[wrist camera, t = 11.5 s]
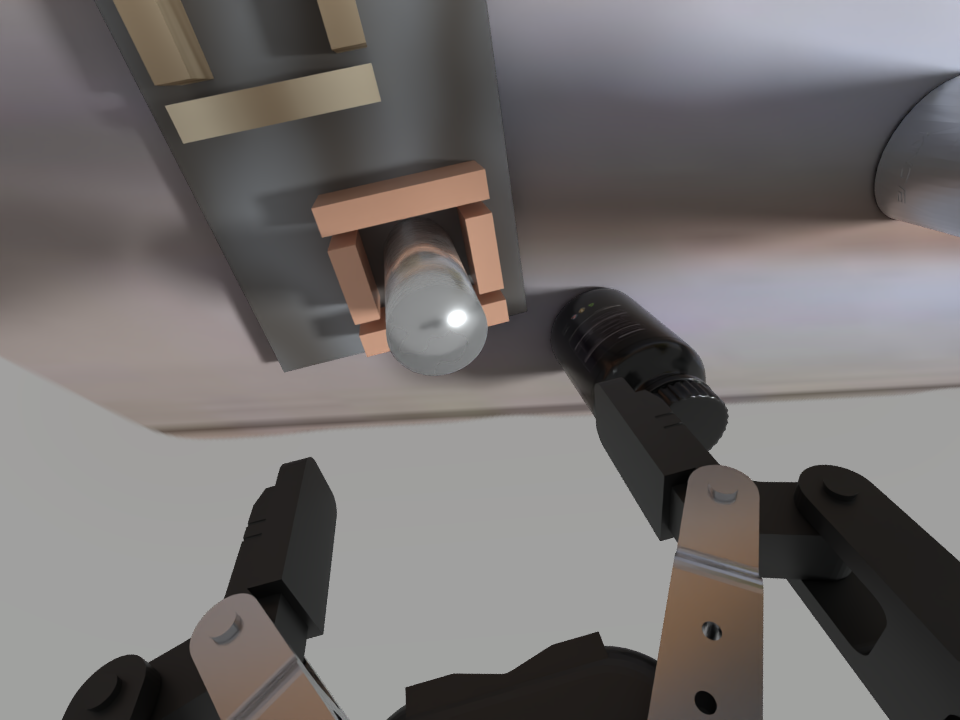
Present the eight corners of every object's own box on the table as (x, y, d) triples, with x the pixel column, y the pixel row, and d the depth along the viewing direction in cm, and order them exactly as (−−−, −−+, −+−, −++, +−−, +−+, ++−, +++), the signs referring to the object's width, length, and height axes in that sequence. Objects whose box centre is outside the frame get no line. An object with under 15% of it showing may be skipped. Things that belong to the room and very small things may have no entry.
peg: (445, 210, 25) (478, 274, 17) (459, 276, 27) (494, 362, 19) (374, 226, 25) (372, 300, 16) (394, 291, 27) (402, 385, 19)
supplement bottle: (651, 329, 34) (764, 432, 24) (577, 382, 35) (656, 501, 25) (609, 264, 31) (723, 353, 20) (529, 326, 32) (599, 438, 22)
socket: (474, 160, 24) (485, 169, 22) (497, 300, 29) (509, 321, 26) (318, 195, 23) (311, 208, 21) (368, 332, 28) (367, 356, 26)
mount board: (450, -206, 18) (469, -281, 14) (521, 302, 31) (541, 332, 27) (42, -136, 17) (-53, -197, 13) (288, 360, 30) (275, 400, 26)
